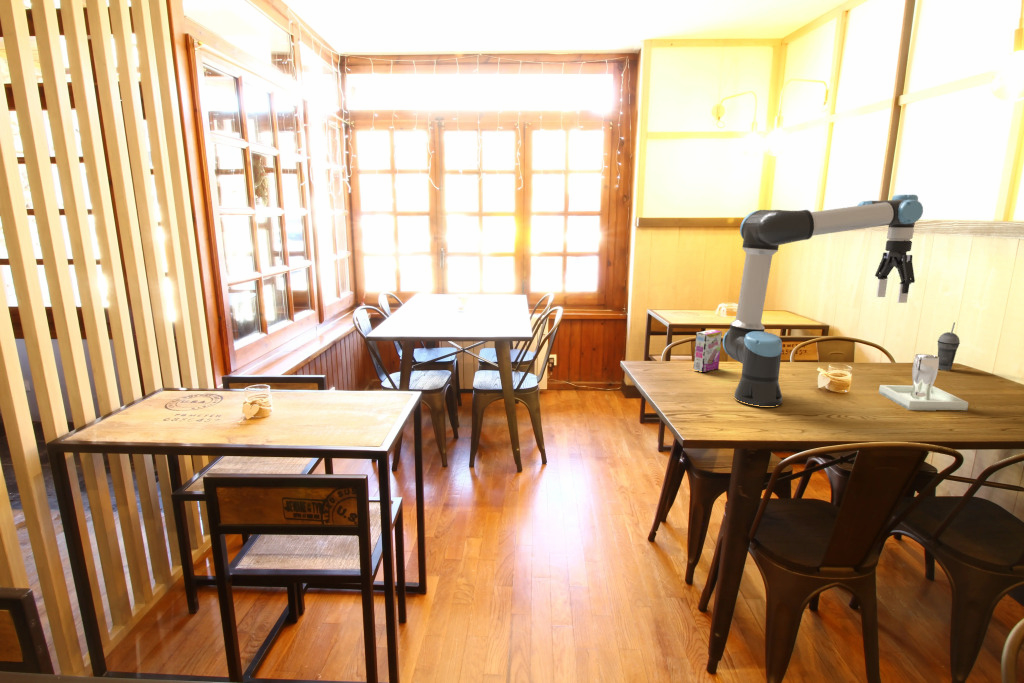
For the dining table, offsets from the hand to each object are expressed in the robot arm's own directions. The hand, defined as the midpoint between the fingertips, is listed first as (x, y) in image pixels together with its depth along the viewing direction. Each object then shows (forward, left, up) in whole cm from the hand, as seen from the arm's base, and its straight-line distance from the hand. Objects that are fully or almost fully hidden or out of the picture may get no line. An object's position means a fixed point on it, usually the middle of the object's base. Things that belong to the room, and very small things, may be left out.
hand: (890, 299), depth 202 cm
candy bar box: (-58, +19, -33) cm, 69 cm away
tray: (+5, -17, -33) cm, 37 cm away
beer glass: (+5, -17, -32) cm, 36 cm away
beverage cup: (+39, +26, -33) cm, 57 cm away
